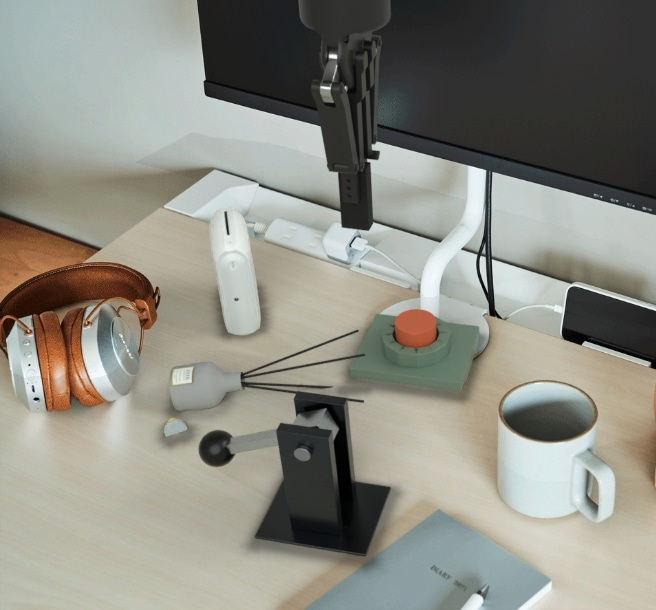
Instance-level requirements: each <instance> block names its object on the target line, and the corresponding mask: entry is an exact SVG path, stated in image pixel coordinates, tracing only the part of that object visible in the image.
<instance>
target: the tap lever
mask: <svg viewBox="0 0 656 610" xmlns="http://www.w3.org/2000/svg"><path fill="white" fill-rule="evenodd" d="M295 417H296V416H295ZM292 424H293V425H300V426H307V427H314V428H321V429H327V430H332V434H333V441H334V439H335V437H336V434H337V432H338V430H339V428H338V426H337V425H336V423H335V421H334V420H333V418H332V416H331V415H330V413H329V412H328V410H327V408H324V409H319V410H314V411H309V412H304V413H299V414H298V415H297V417H296V418H295V420H294V421H293V422H292ZM276 430H277V428H273V429H268V430H262V431H257V432H251V433H248V434H247V433H246V434H242V435H237V436H233V435H232V434H231V433H230V432H228V431H226V430H222V429H213V430H211V431H208V432H207V433H205V434H204V435H203V436H202V437H201V439H200V441H199V442H198V449H197V450H198V455H199V458H200V460H201V461H202V462H203V463H204V464H205V465H207V466H209V467H212V468H221V467H225V466H227V465H228V464H230V463H231V462H232V461H233V460H234V458H235V457H236V454H241V453H245V452H251V451H257V450H261V449H267V448H272V447H277V446H278V440H277V434H276ZM278 447H279V446H278Z"/></svg>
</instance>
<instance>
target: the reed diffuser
mask: <svg viewBox="0 0 656 610" xmlns="http://www.w3.org/2000/svg"><path fill="white" fill-rule="evenodd" d="M359 331H360V330H359V329H354V330H353V331H349V332H347V333H345V334H342V335H339V336H337V337H334V338H331V339H329V340H326V341H323V342H321V343H319V344H315V345H313V346H311V347H310V346H309V347H308V348H305V349H302V350H300V351H297V352H295V353H292V354H290V355H287V356H285V357H282V358H279V359H276V360H274V361H271V362H268V363H266V364H264V365H260V366H257V367H255V368H253V369H250V370H247V371H245V372H243V371H235V372H225V371H224V370H222V369H221V368H220V367H219V366H218V365H217V364H216V363H214V362H211V361H201V362H195V363H194V362H193V363H187V364H182V365H181V364H180V365H176V366H173V367H172V368H171V370H170V373H169V378H168V380H169V381H168V384H169V385H168V386H169V387H168V388H169V396H170V399H171V403H172V406H173V407H174V409H175V410H176V411H178V412H179V411H180V412H181V411H194V410H195V411H196V410H197V411H198V410H206V409H212V408H215V407H217V406H219V405H220V403H221V402H222V401H223V399H224V398H225V396H226V394H227V393H230V392H236V391H237V392H238V391H244V390H245V389H246V388H250V389H255V390H265V391H271V392H278V393H287V394H294V395H296V393H297V391H298V390H290V389H283V388H274V387H286V388H287V387H288V388H305V389H306V388H307V389H310V388H311V389H332V388H334V385H316V384H315V385H314V384H313V385H312V384H296V383H295V384H294V383H293V384H292V383H273V382H256V381H255V382H253V381H250V382H249V381H246V379H250V378H255V377H261V376H266V375H272V374H276V373H282V372H286V371H293V370H297V369H303V368H308V367H313V366H320V365H324V364H330V363H336V362H340V361H346V360H350V359H354V358H357V357H362V356H365V353H364V354H359V355H356V354H354V355H349V356H343V357H337V358H333V359H328V360H322V361H317V362H311V363H306V364H299V365H296V366H289V367H285V368H280V369H279V368H278V369H274V370H268V371H264V372H258V373H255V372H257V371H260V370H262V369H265V368H267V367H271V366H272V365H276V364H278V363H281V362H283V361H286V360H288V359H291V358H294V357H296V356H298V355H301V354H304V353H307V352H310V351H312V350H314V349H317V348H320V347H323V346H325V345H328V344H330V343H333V342H335V341H338V340H342V339H343V338H346V337H349V336H352V335H354V334H356V333H359ZM252 373H253V374H252ZM346 398H347V399H348V402H353V403H360V404H365V400H364V399H357V398H350V397H346ZM185 431H188V426H187V424H186V422H185V421H184V420H183V419H180V418H175V417H171V418H168V420H167V421H166V423H165V425H164V426H163V433H164V435H165V437H169V436H173V435H176V434H179V433H183V432H185Z"/></svg>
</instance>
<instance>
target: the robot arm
mask: <svg viewBox="0 0 656 610" xmlns="http://www.w3.org/2000/svg"><path fill="white" fill-rule="evenodd" d="M391 4H392V3H391V0H298V10H299V18H300V21H301V23H302V24H303V25H304V26H305V27H306V28H308V29H310V30H313V31H315V32H316V33H317V34H319V35H320V37H321V41H320V42H321V46H320V47H319V49H318V66H319V69H320V70H321V72H322V79H321V80H319V79H312V80H311V83H310V93H311V95H312V98H313V100H314V102H315V105H316V109H317V114H318V115H317V116H318V121H319V126H320V132H321V137H322V143H323V148H324V153H325V154H324V155H325V159H326V168H327V169H328V172H331V173H337V179H338V195H339V210H340V224H341V228H343V229H349V230H357V231H358V230H360V231H365V232H369V231H370V230H371V228H372V226H373V225H374V207H373V189H372V188H373V186H372V185H373V184H372V167H371V166H372V165H371V164H372V163H371V162H370V161H368V160H373V161H379V160H380V155H381V151H380V150H375V149H373V145H374V146H375V145H376V144H377V142H378V115H379V114H378V112H379V111H378V110H379V108H378V107H379V79H380V78H379V77H380V58H381V51H382V50H381V49H382V44H383V41H382V36H381V35H376V34H373V32H375V31H377V30H380V29H382V28H384V27H385V26H387V24H388V23H389V22H390V20H391V16H392V12H391V9H392V8H391Z"/></svg>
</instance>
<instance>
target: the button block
mask: <svg viewBox="0 0 656 610" xmlns="http://www.w3.org/2000/svg"><path fill="white" fill-rule="evenodd" d="M397 316H398V315H390V314H383V313H375V315H374V316H373V319H372V321H371V322H370V325H369V327H368V329H367V331H366V334H365V336H364V338H363V340H362V342H361V344H360V345H359V348H358V350H357V351H356V354H355V355H359V354H364V353H365V356H362V357H357V358H353V360H352V362H351V364H350V366H349V376H350V378H356V379H362V380H369V381H370V380H371V381H378V382H384V383H386V382H387V383H393V384H400V385H407V386H415V387H421V388H427V389H428V388H430V389H437V390H444V391H449V392H458V393H461V392H462V389H463V387H464V384H466V383H467V380H468V377H469V373H470V370H471V368H472V365H473V361H474V359H475V355H476V352H477V349H478V345H479V342H480V326H478V325H471V324H465V323H464V324H462V323H455V322H447V321H445V320H443V319H440V318H439V317H437V316H435V318H436V339H435V341H434V342H433V343H432V344H430V345H429V346H424V347H419V348H411V347H404V346H402V345H401V344H399V343H398V342H397V340H396V336H395V319H396V317H397Z"/></svg>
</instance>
